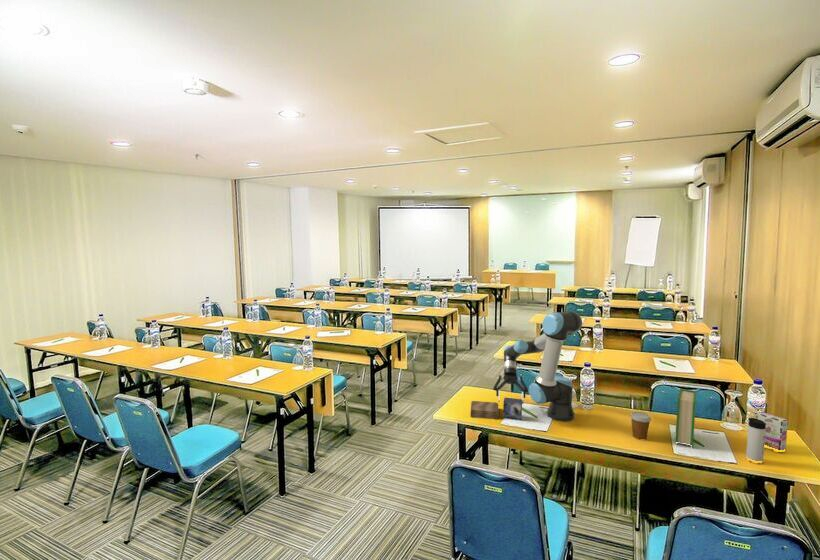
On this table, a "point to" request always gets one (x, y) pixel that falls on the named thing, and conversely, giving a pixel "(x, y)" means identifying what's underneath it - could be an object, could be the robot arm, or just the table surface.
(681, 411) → the hardback book
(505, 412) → the small box
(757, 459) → the travel mug
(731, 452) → the table surface
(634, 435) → the disposable coffee cup
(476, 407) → the walnut stand
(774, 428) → the candy bar box
